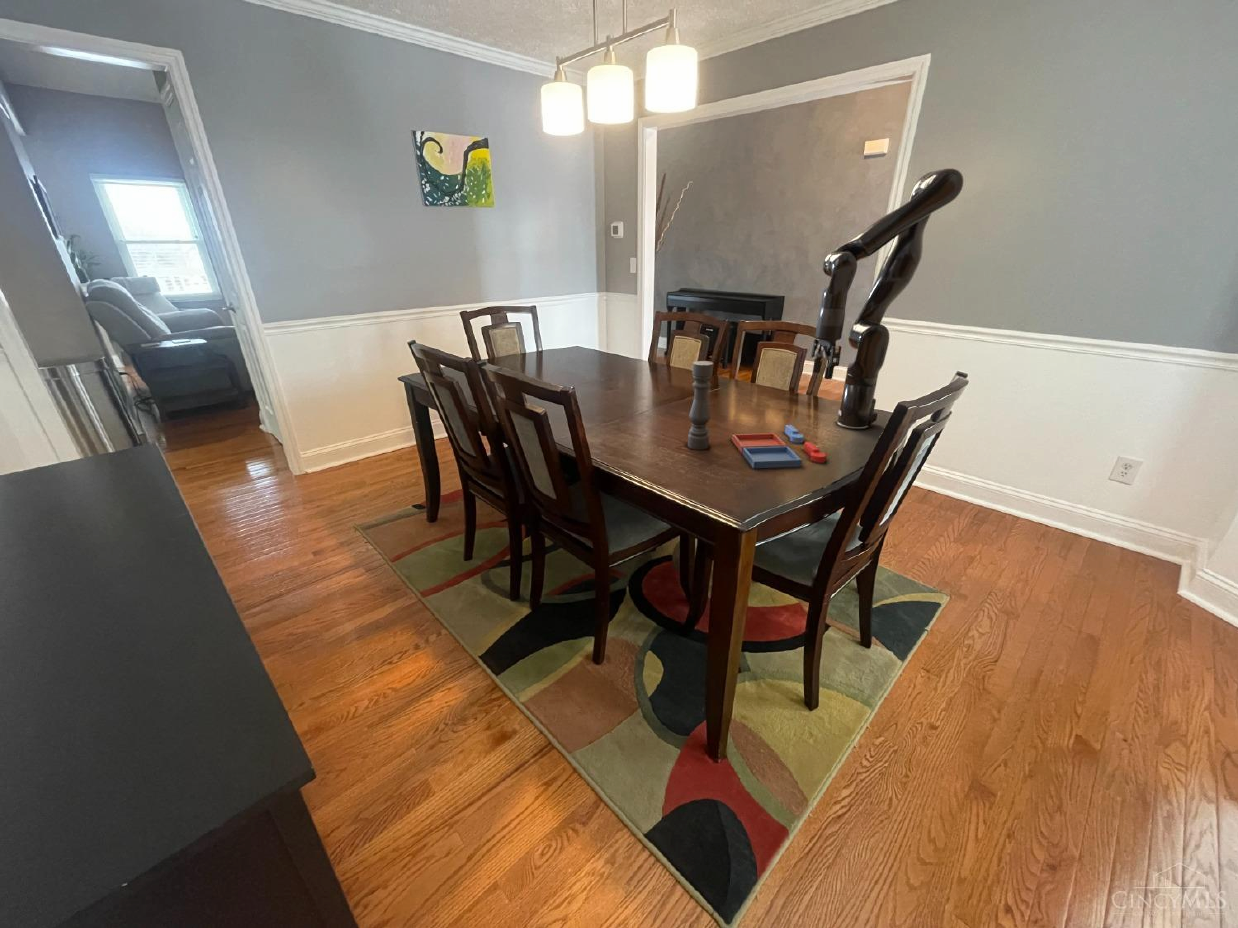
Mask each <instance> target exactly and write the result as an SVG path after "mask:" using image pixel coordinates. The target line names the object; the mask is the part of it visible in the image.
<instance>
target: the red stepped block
mask: <svg viewBox="0 0 1238 928" xmlns="http://www.w3.org/2000/svg"><path fill="white" fill-rule="evenodd" d="M803 445H804V446H803V451H804V452H805V453H806V454H807V455H808V456H809V457H810V461H811V462H814V463H819V464H820V463H821V464H822V463H825V462H826V457H827V454H826V453H824V452H821V451H820V448H819V447H818V446H817V445H815V444H814V443H813V442H812V441H805V442H804V444H803Z"/></svg>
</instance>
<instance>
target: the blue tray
mask: <svg viewBox="0 0 1238 928" xmlns="http://www.w3.org/2000/svg"><path fill="white" fill-rule="evenodd" d="M741 454H742V455H743V457H744V459H745V460H746V461H747V462H748V463H749V465H750V466H751V467H752V469H771V468H772V469H775V468H777V469H778V468H801V467H802V464H803V459H802V458H801V457H800V456H799V455H798V454H797V453H796V452H795V451H794V450H793V449H791V447H790V446H788V445H787V446H781V447H749V448H743V453H741Z"/></svg>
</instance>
